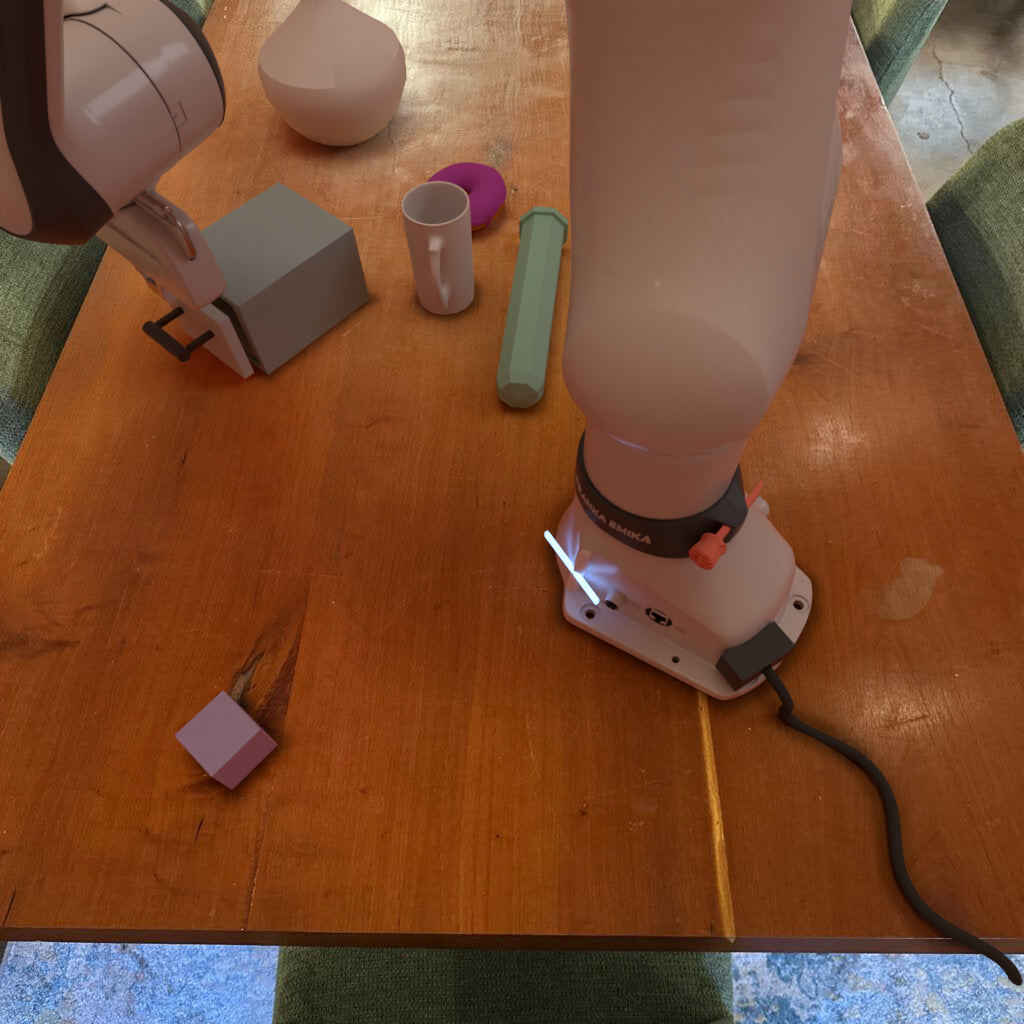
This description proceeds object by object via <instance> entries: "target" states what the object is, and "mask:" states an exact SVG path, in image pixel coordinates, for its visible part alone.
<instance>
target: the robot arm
mask: <svg viewBox="0 0 1024 1024" xmlns="http://www.w3.org/2000/svg"><path fill="white" fill-rule="evenodd" d="M853 1H854V0H564V5H565V13H566V14H565V15H566V23H567V24H566V25H567V40H568V55H569V56H568V57H569V61H568V62H569V153H568V154H569V219H570V220H569V221H570V286H569V297H568V298H569V299H568V308H567V316H566V318H567V319H566V324H565V333H564V342H563V349H562V359H561V370H562V371H561V372H562V377H563V381H564V385H565V387H566V390H567V392H568V394H569V395H570V398H571V399H572V401H573V403H574V404H575V405H576V407H577V408H578V409H579V411H580V412H581V413H582V415H584V417H585V418H586V420H585V427H584V430H583V431H582V433H581V436H580V438H579V442H578V446H577V453H576V458H575V468H574V489H575V493H574V495H573V499H572V501H571V503H570V505H569V506H568V507H567V509H566V510H565V511H564V513H563V514H562V516H561V518H560V521H559V523H558V526H557V529H556V533H555V538H554V537H553V535H552V534H551V533H550V532H549V530H546V531H545V532H544V537H545V539H546V540H547V542H548V543H549V544H550V546H551V547H552V548H553V549H554V551H555V559H556V563H557V566H558V569H559V572H560V575H561V578H562V581H563V587H564V588H563V595H562V614H563V617H564V619H565V620H566V621H567V622H568V623H569V624H571V625H572V626H574V627H576V628H578V629H580V630H583V631H584V632H586V633H588V634H591V635H592V636H594V637H596V638H598V639H599V640H601V641H603V642H605V643H608V644H609V645H611V646H614V647H615V648H617V649H619V650H621V651H623V652H624V653H628V654H629V655H630V656H633V657H634V658H637V659H638V660H640V661H642V662H644V663H646V664H648V665H650V666H652V667H654V668H655V669H658V670H660V671H662V672H663V673H666V674H668V675H669V676H671V677H673V678H675V679H677V680H679V681H680V682H682V683H685V684H686V685H688V686H690V687H692V688H694V689H696V690H699V691H700V692H702V693H704V694H706V695H708V696H710V697H712V698H714V699H717V700H719V701H729V700H732V699H736V698H738V697H740V696H743V695H746V694H747V693H750V692H751V691H753V690H755V688H757V687H758V686H760V685H761V684H763V683H764V681H766V680H767V682H768V683H769V685H770V686H771V687H772V689H773V690H774V692H775V693H776V695H777V697H778V699H779V701H780V702H781V704H780V706H779V707H778V709H777V710H778V715H779V716H780V718H781V719H782V720H783V722H785V724H787V725H788V726H789V727H791V728H792V729H794V730H795V731H797V732H800V733H802V734H804V735H806V736H808V737H810V738H812V739H814V740H816V741H818V742H820V743H822V744H824V745H825V746H827V747H829V748H831V749H833V750H835V751H837V752H839V753H841V754H842V755H844V756H846V757H848V758H849V759H851V760H852V761H854V762H855V763H857V764H858V765H859V766H860V767H861V768H862V769H863V770H865V771H866V773H867V774H868V775H869V776H870V777H871V779H872V780H873V781H874V783H875V784H876V786H877V788H878V790H879V792H880V794H881V796H882V800H883V803H884V807H885V812H886V818H887V827H888V829H887V830H888V842H889V852H890V858H891V863H892V864H891V865H892V868H893V871H894V874H895V878H896V880H897V882H898V884H899V886H900V889H901V891H902V892H903V894H904V896H905V898H906V899H907V900H908V902H909V903H910V905H911V906H912V907H913V908H914V910H915V911H916V912H917V914H919V915H920V916H921V918H923V919H924V920H925V921H926V922H927V923H928V924H930V925H931V926H933V927H934V928H935V929H937V930H938V931H939V932H941V933H943V934H944V935H946V936H947V937H949V938H951V939H952V940H954V941H956V942H958V943H960V944H962V945H964V946H965V947H966V948H969V949H971V950H973V951H975V952H976V953H979V954H980V955H982V956H983V957H986V958H987V959H989V960H991V961H992V962H993V963H994V964H996V966H998V967H999V968H1000V969H1001V970H1002V971H1003V972H1004V974H1005V975H1006V977H1007V979H1008V980H1009V982H1011V983H1012V984H1013V985H1015V986H1016V987H1021V986H1022V985H1023V982H1024V980H1023V976H1022V974H1021V972H1020V970H1019V969H1018V966H1017V965H1016V964H1015V963H1014V962H1013V961H1012V960H1011V958H1009V957H1008V956H1007V955H1005V954H1004V953H1003V952H1002V951H1001V950H999V949H998V948H996V947H994V946H993V945H992V944H989V943H988V942H986V941H985V940H983V939H980V938H979V937H977V936H975V935H973V934H971V933H969V932H968V931H966V930H963V929H962V928H960V927H958V926H956V925H954V924H953V923H951V922H950V921H948V920H946V919H945V918H944V917H942V916H941V915H939V914H938V913H937V912H935V911H934V910H933V909H932V908H931V907H930V906H929V905H928V904H927V903H926V902H925V900H924V899H923V898H922V897H921V896H920V894H919V893H918V891H917V890H916V888H915V886H914V885H913V882H912V880H911V878H910V876H909V872H908V870H907V867H906V866H907V865H906V862H905V857H904V850H903V839H902V827H901V818H900V812H899V807H898V803H897V800H896V797H895V794H894V792H893V789H892V787H891V786H890V783H889V781H888V779H886V777H885V775H884V774H883V772H882V771H881V770H880V769H879V767H878V766H877V765H876V764H875V763H874V762H873V761H872V760H871V759H869V758H868V757H867V756H866V755H865V754H864V753H862V752H860V751H859V750H858V749H856V748H855V747H853V746H851V745H849V744H848V743H846V742H845V741H842V740H840V739H838V738H836V737H833V736H832V735H829V734H827V733H825V732H822V731H820V730H818V729H816V728H814V727H812V726H811V725H808V724H806V723H805V722H804V721H801V720H800V719H799V718H798V717H796V716H795V715H794V714H793V713H792V712H793V710H794V707H795V703H794V701H793V698H792V695H791V694H790V691H789V690H788V688H787V687H786V685H785V684H784V682H783V681H782V680H781V678H780V677H779V676H778V674H777V673H776V670H777V669H778V668H779V667H780V665H781V664H782V663H783V662H784V660H786V659H788V657H789V656H790V654H791V653H792V652H793V651H794V649H796V647H797V645H796V643H797V642H798V639H799V638H800V636H801V634H802V632H803V631H804V628H805V626H806V623H807V621H808V619H809V616H810V612H811V609H812V602H813V584H812V581H811V579H810V578H809V576H808V575H806V574H805V572H804V571H802V570H801V569H800V568H799V566H797V564H796V558H795V553H794V551H793V548H792V546H791V545H790V543H788V541H787V540H786V539H785V538H784V537H783V535H782V534H781V533H780V532H779V531H778V529H777V528H776V527H775V526H774V524H773V523H772V522H771V521H770V520H769V519H768V517H769V515H770V513H771V509H770V505H769V504H768V502H767V501H766V500H765V499H764V498H763V497H762V496H760V492H761V490H762V487H763V485H764V480H760V481H759V482H758V483H757V485H756V486H755V487H754V488H753V489H752V490H751V492H750V493H749V494H748V493H747V491H745V486H744V485H745V484H744V479H743V473H742V468H741V463H740V461H741V458H742V456H743V454H744V451H745V448H746V447H747V444H748V441H749V439H750V436H751V434H752V433H753V432H754V431H755V430H756V429H757V428H758V426H759V425H760V424H761V422H762V421H763V419H764V417H765V415H766V414H767V413H768V410H769V408H770V407H771V405H772V403H773V401H774V400H775V398H776V396H777V394H778V393H779V391H780V389H781V387H782V386H783V384H784V382H785V380H786V378H787V376H788V374H789V372H790V370H791V368H792V366H793V364H794V363H795V360H796V358H797V356H798V353H799V351H800V349H801V346H802V345H803V341H804V339H805V338H804V337H805V334H806V331H807V326H808V322H809V317H810V313H811V309H812V305H813V299H814V295H815V291H816V286H817V282H818V277H819V273H820V268H821V264H822V259H823V256H824V251H825V247H826V243H827V237H828V234H829V229H830V225H831V221H832V216H833V212H834V207H835V202H836V198H837V194H838V189H839V184H840V180H841V177H842V171H843V161H844V150H843V149H844V148H843V147H844V146H843V134H842V126H841V119H840V113H839V107H838V97H839V90H840V85H841V84H840V83H841V78H842V77H841V76H842V70H843V64H844V58H845V51H846V44H847V37H848V31H849V27H850V21H851V20H850V19H851V14H852V13H851V12H852V6H853ZM216 57H217V56H216V55H215V52H214V51H213V49H212V47H211V44H210V43H209V41H208V39H207V37H206V35H205V34H204V32H203V30H202V29H201V27H200V26H199V25H198V23H197V22H196V21H195V20H194V18H192V17H191V16H190V15H189V14H188V13H187V12H186V11H184V9H182V8H180V7H179V6H177V4H175V3H173V2H171V0H0V230H1V231H3V232H5V233H6V234H8V235H10V236H12V237H14V238H17V239H20V240H21V239H22V240H25V241H30V242H34V243H42V244H46V245H47V244H49V245H59V246H84V245H86V244H87V243H88V242H89V241H90V240H91V239H92V238H93V237H94V236H96V237H98V238H99V239H100V240H101V241H102V242H103V243H105V244H106V245H108V246H109V247H110V248H112V250H114V251H115V252H117V253H118V254H119V255H121V256H122V257H123V258H124V259H126V260H127V261H128V262H130V264H131V265H132V266H133V267H134V269H136V271H137V272H138V273H139V274H140V276H142V278H143V280H144V281H145V283H146V285H147V287H148V289H150V290H151V291H152V292H153V293H155V294H156V295H158V296H159V297H160V298H161V299H162V300H164V301H165V302H166V303H168V304H169V303H173V302H175V301H176V300H178V299H179V300H181V301H182V302H183V303H184V304H186V305H187V306H188V307H190V308H191V309H193V310H199V309H201V308H203V307H205V306H206V305H208V304H209V303H211V302H213V301H214V300H215V299H217V298H218V297H219V296H221V295H222V294H223V293H224V292H225V290H226V287H227V283H226V280H225V277H224V275H223V273H222V271H221V269H220V267H219V265H218V263H217V261H216V259H215V257H214V255H213V253H212V251H211V249H210V247H209V245H208V244H207V242H206V240H205V238H204V236H203V235H202V233H201V229H200V228H199V227H198V225H197V224H196V223H195V221H194V219H192V218H191V216H190V215H189V214H188V213H186V211H184V210H183V209H182V208H180V207H179V206H177V205H176V204H174V203H173V202H172V201H170V200H169V199H167V198H166V197H165V196H163V195H161V194H160V193H159V192H157V191H156V186H157V185H158V184H159V181H160V180H161V178H162V176H164V175H165V174H166V173H167V172H169V171H170V170H171V169H173V168H174V167H175V166H177V165H176V164H178V163H179V162H180V161H181V160H183V159H184V158H185V157H186V156H188V155H189V154H191V153H192V152H193V151H194V150H195V149H196V148H198V147H199V146H200V145H201V144H203V143H204V142H205V141H206V140H208V138H210V137H211V135H213V133H214V132H215V131H216V130H217V129H218V128H220V127H221V126H222V125H223V123H224V120H225V117H226V110H227V109H226V108H227V96H226V87H225V83H224V78H223V73H222V71H221V67H220V65H219V62H218V61H217V60H218V59H217V58H216ZM794 605H798V606H799V607H800V609H797V608H796V607H795V606H794ZM587 614H592V615H593V616H594V617H593V618H588V617H587V616H586V615H587ZM674 661H675V662H674Z"/></svg>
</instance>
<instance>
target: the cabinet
mask: <svg viewBox="0 0 1024 1024" xmlns="http://www.w3.org/2000/svg"><path fill="white" fill-rule="evenodd" d="M200 231H201V233H202V235H203V236H204V238H205V240H206V242H207V244H208V245H209V247H210V249H211V251H212V253H213V255H214V257H215V259H216V261H217V263H218V265H219V267H220V269H221V271H222V273H223V275H224V277H225V280H226V283H227V287H226V290H225V292H224V293H223V294H222V295H221V296H219V297H220V298H222V299H223V300H224V301H226V302H227V303H229V304H230V305H231V306H233V307H234V308H235V309H236V311H237V313H238V315H239V317H240V320H241V322H242V324H243V326H244V329H245V331H246V333H247V335H248V338H249V340H250V342H251V344H252V347H253V349H254V351H255V354H256V356H257V358H256V357H255V356H254V355H252V354H251V353H250V352H248V351H247V350H246V349H244V348H243V349H244V352H245V354H246V356H247V358H248V360H249V362H250V363H251V364H252V365H254V366H256V367H257V368H258V369H259V370H261V371H262V372H263V373H265V374H266V375H267V376H270V374H272V373H273V372H275V371H276V370H277V369H279V368H280V367H281V366H282V365H284V364H285V363H287V362H288V361H289V360H290V359H292V358H293V357H295V356H296V355H297V354H299V353H300V352H301V351H303V350H304V349H306V348H307V347H308V346H310V345H311V344H312V343H314V342H315V341H316V340H317V339H319V338H320V337H321V336H323V335H324V334H325V333H327V332H328V331H330V330H331V329H332V328H334V327H335V326H336V325H337V324H339V323H341V322H342V321H343V320H345V318H347V317H348V316H350V315H351V314H353V312H355V311H356V310H358V309H359V308H360V307H362V306H364V304H366V303H368V301H370V295H369V289H368V285H367V281H366V278H365V272H364V269H363V264H362V259H361V255H360V251H359V248H358V244H357V239H356V236H355V231H354V227H352V226H351V225H349V224H348V223H346V222H345V221H343V220H341V219H340V218H338V217H336V216H335V215H333V214H331V213H330V212H328V211H327V210H326V209H323V207H320V206H319V205H318V204H315V203H314V202H313V201H312V200H309V199H307V197H304V196H302V195H301V194H300V193H298V192H296V191H295V190H293V189H292V188H290V187H288V186H287V185H285V184H284V183H282V182H281V181H278V182H276V183H275V184H273V185H272V186H270V187H268V188H267V189H265V190H264V191H262V192H261V193H259V194H257V195H256V196H253V197H252V198H251V199H249V200H248V201H246V202H244V203H243V204H242V205H240V206H238V207H237V208H234V209H233V210H232V211H230V212H228V213H227V214H225V215H224V216H222V217H220V218H219V219H217V220H216V221H214V222H212V223H211V224H209V225H207V227H205V228H203V229H200Z"/></svg>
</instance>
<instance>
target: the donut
mask: <svg viewBox="0 0 1024 1024" xmlns="http://www.w3.org/2000/svg"><path fill="white" fill-rule="evenodd" d="M432 181H443V182H449V183H452V184H455V185H457V186H459V187H461V188H462V189H463V190H464V191H465V192H466V193H467V195H468V197H469V204H470V216H471V233H472V232H475V231H479V230H482V229H483V228H486V229H489V227H490V225H491V223H494V221H495V220H496V219H498V217H499V216H500V214H501V212H502V209H503V208H504V204H505V202H506V199H507V196H508V195H507V193H508V192H507V191H508V190H507V186H506V185H507V184H506V183H505V180H504V178H503V176H502V174H500V172H499V171H498V170H497V169H495V168H494V167H493V166H490V165H487V164H483V163H478V162H468V161H467V162H457V163H452V164H450V165H448V166H445V167H444V168H442V169H440V170H438V171H437V172H436V173H434V174H433V175H431V177H430V178H428V180H427V181H426V182H432Z"/></svg>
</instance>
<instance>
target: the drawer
mask: <svg viewBox="0 0 1024 1024" xmlns="http://www.w3.org/2000/svg"><path fill="white" fill-rule="evenodd" d="M168 304H169V305H170V307H171V309H172V310H171V311H169V312H167V313H166V314H164V315H163V316H162V317H160V318H159V319H157V320H156V321H155V322H154V321H153V320H147V321H146V322H144V323H143V325H142V328H141V329H142V332H144V334H145V335H147V336H148V337H149V338H150V339H151V340H153V341H154V342H155V343H157V344H158V345H159V346H160V347H161V348H163V349H164V350H166V351H167V352H168V353H169V354H170V355H171V356H173V358H175V359H176V360H178V362H180V363H187V362H188V361H190V360H191V358H192V353H194V351H195V350H198V349H199V348H200V347H204V348H205V349H206V350H208V351H209V352H210V353H211V354H212V355H213V356H215V357H216V358H218V360H220V361H221V362H223V364H225V365H227V366H228V367H229V368H230V369H232V370H233V371H234V372H235V373H237V374H238V375H239V376H240V377H242V378H243V379H244V380H245V379H248V378H249V377H250V376H252V375H253V374H254V373H255V371H254V370H253V366H252V364H251V362H250V361H249V360H248V358H247V356H246V354H245V352H244V349H246V350H247V351H248V352H250V353H251V354H252V355H254V356H255V357H256V358H257V356H256V354H255V351H254V349H253V347H252V344H251V342H250V340H249V338H248V335H247V333H246V331H245V329H244V326H243V324H242V322H241V320H240V317H239V315H238V313H237V311H236V309H235V308H234V307H233V306H231V305H230V304H229V303H227V302H226V301H224V300H223V299H222V298H220V297H218V298H217V299H215V300H214V301H213V302H211V303H209V304H208V305H206V306H205V307H203V308H201V309H199V310H193V309H191V308H190V307H188V306H187V305H186V304H184V303H183V302H182V301H181V300H179V299H178V300H176V301H175V302H173V303H168ZM176 319H177V321H178V322H179V324H180V326H181V328H182V330H183V331H184V333H185V334H187V335H188V336H190V337H191V338H192V339H193V340H192V341H190V342H189V343H188V344H186V345H185V346H184V344H182V343H181V342H180V341H179V340H177V339H176V338H175V337H174V336H172V335H171V334H170V333H168V332H167V331H166V330H165V329H164V327H166V326H167V325H168V324H170V323H172V322H173V321H175V320H176ZM243 348H244V349H243Z"/></svg>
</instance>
